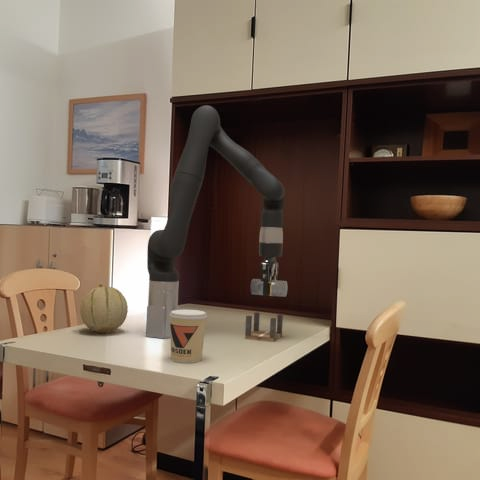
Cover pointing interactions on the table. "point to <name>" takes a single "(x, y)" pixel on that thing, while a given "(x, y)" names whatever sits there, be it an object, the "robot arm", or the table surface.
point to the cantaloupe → (103, 309)
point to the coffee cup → (187, 335)
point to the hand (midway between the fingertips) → (268, 294)
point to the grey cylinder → (275, 287)
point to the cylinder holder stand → (263, 335)
